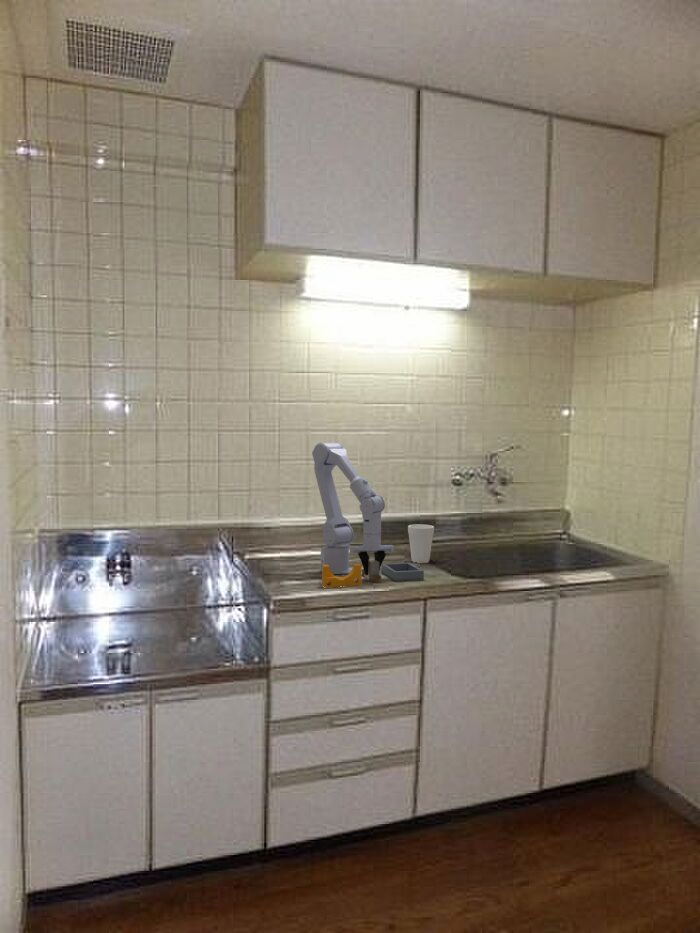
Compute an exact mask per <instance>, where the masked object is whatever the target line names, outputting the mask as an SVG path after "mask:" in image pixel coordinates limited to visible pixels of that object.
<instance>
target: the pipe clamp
mask: <svg viewBox="0 0 700 933" xmlns="http://www.w3.org/2000/svg"><path fill="white" fill-rule="evenodd" d="M322 585H323V586H324V587H340V586H342V588H344V587H343V586H345V585H356V586H362V563H353V567H352V569H351V572H350V573H349V574H346V575H344V576H337V575H335V574H332V573H331V571H330V566H329V565H322V571H321V586H322ZM323 586H322V587H323ZM324 587H323V588H324ZM345 587H346V586H345Z"/></svg>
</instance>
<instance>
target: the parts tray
mask: <svg viewBox="0 0 700 933" xmlns="http://www.w3.org/2000/svg"><path fill="white" fill-rule="evenodd" d="M424 572H425V571H424V570H423V568H419V567H418V566H416V565H414V564H412V563H410V562H394V563H382V564H381V574H382V575H385V577H387V578H389V579H390V580H392V581H393V582H394V581H396V582H409V581H410V580H413V581H422V580H421V579H424V578H425V576H424V574H425V573H424ZM424 580H425V579H424Z"/></svg>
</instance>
